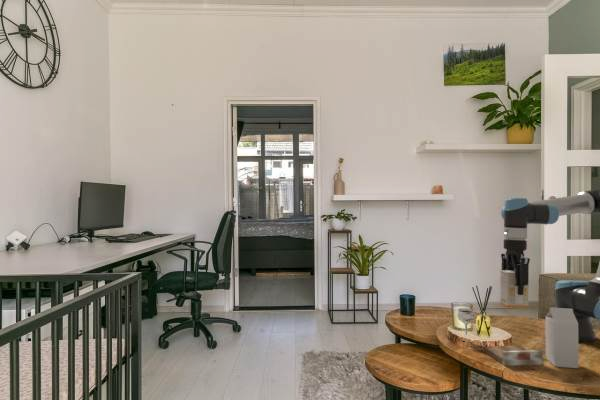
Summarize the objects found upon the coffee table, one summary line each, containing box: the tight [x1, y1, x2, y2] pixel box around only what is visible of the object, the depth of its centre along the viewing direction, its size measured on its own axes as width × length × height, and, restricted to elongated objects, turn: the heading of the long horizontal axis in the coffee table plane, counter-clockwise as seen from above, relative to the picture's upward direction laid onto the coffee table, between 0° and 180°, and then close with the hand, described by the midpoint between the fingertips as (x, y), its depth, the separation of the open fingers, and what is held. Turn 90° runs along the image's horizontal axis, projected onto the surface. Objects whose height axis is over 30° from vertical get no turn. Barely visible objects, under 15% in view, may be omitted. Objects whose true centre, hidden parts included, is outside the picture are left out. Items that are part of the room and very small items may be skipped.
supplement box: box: [499, 269, 530, 308], centre depth 140 cm, size 8×5×13 cm, turn 92°
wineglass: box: [456, 307, 476, 336], centre depth 151 cm, size 7×7×12 cm
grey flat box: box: [482, 344, 544, 367], centre depth 133 cm, size 14×12×4 cm
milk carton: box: [545, 307, 579, 369], centre depth 129 cm, size 7×7×19 cm
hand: (513, 301), depth 140 cm, fingers closed on supplement box, 5 cm apart
